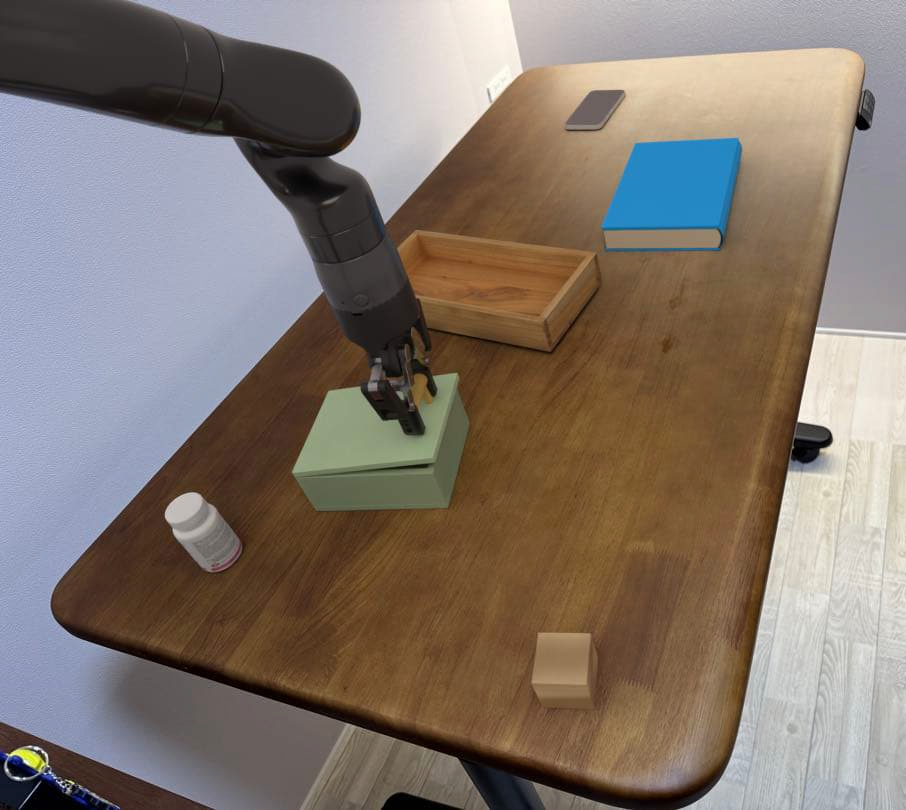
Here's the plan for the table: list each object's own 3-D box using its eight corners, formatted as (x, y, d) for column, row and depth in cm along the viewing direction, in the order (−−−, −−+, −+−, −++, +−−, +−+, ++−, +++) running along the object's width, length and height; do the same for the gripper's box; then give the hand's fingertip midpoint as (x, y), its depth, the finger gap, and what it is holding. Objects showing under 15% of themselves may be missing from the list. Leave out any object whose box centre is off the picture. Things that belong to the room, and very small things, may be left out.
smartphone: (626, 89, 149) (600, 125, 140) (627, 94, 150) (600, 130, 140) (590, 90, 152) (562, 125, 143) (591, 94, 153) (563, 130, 143)
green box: (470, 423, 92) (457, 388, 88) (448, 508, 83) (432, 473, 80) (349, 429, 96) (331, 395, 92) (316, 511, 87) (294, 477, 83)
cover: (459, 377, 87) (444, 346, 84) (435, 462, 78) (417, 431, 75) (331, 395, 92) (313, 366, 89) (295, 477, 83) (273, 449, 80)
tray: (367, 318, 112) (353, 286, 108) (426, 258, 121) (415, 227, 117) (551, 357, 98) (542, 322, 94) (603, 287, 106) (597, 252, 103)
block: (594, 709, 65) (586, 684, 62) (541, 707, 66) (531, 683, 62) (598, 659, 68) (590, 633, 65) (548, 658, 69) (538, 632, 66)
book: (600, 228, 110) (633, 140, 126) (605, 253, 113) (636, 165, 129) (724, 225, 104) (741, 134, 121) (725, 252, 107) (742, 159, 124)
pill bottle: (250, 537, 86) (214, 488, 80) (232, 574, 83) (193, 526, 77) (212, 536, 87) (174, 489, 81) (193, 573, 84) (152, 526, 78)
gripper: (351, 243, 77) (406, 370, 88) (302, 336, 67) (371, 466, 78) (422, 235, 75) (468, 366, 87) (383, 329, 65) (441, 463, 77)
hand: (422, 412), depth 83 cm, fingers closed on cover, 5 cm apart
